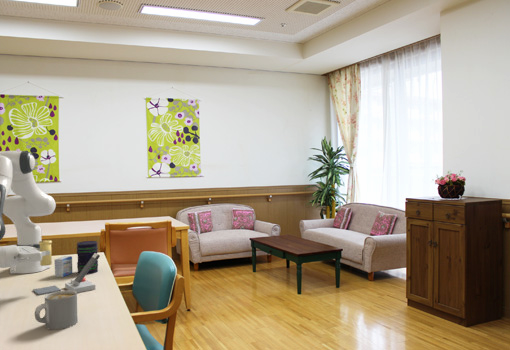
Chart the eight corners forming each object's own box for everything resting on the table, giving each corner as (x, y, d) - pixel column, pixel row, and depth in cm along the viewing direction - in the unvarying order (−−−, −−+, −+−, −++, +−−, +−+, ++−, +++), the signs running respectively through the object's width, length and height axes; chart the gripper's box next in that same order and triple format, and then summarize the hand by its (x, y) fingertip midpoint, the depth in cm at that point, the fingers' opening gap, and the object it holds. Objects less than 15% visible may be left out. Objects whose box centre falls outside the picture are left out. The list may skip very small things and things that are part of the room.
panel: (65, 287, 193) (64, 280, 193) (85, 283, 199) (85, 276, 199) (74, 293, 184) (73, 285, 184) (95, 289, 190) (95, 281, 190)
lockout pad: (32, 290, 189) (32, 289, 189) (54, 286, 195) (54, 285, 195) (38, 295, 182) (38, 293, 182) (61, 291, 188) (61, 289, 188)
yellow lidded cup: (38, 264, 188) (37, 241, 188) (50, 262, 192) (50, 239, 191) (41, 266, 185) (40, 242, 184) (53, 264, 188) (53, 241, 188)
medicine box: (62, 277, 211) (62, 259, 211) (54, 277, 212) (54, 259, 212) (72, 273, 219) (72, 256, 219) (64, 273, 220) (64, 255, 220)
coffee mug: (73, 316, 155) (72, 288, 155) (81, 324, 147) (80, 295, 147) (31, 325, 147) (30, 296, 147) (37, 334, 139) (36, 303, 139)
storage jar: (95, 268, 228) (94, 240, 228) (100, 272, 220) (99, 242, 220) (75, 271, 223) (74, 242, 222) (79, 275, 214) (78, 245, 214)
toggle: (71, 282, 190) (94, 252, 197) (74, 284, 191) (96, 254, 197) (75, 284, 187) (98, 254, 193) (78, 286, 188) (100, 256, 194)
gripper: (17, 251, 172) (54, 247, 180) (6, 245, 187) (41, 241, 196) (17, 268, 172) (55, 262, 181) (6, 259, 187) (41, 255, 196)
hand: (47, 251), depth 189 cm, fingers closed on yellow lidded cup, 4 cm apart
